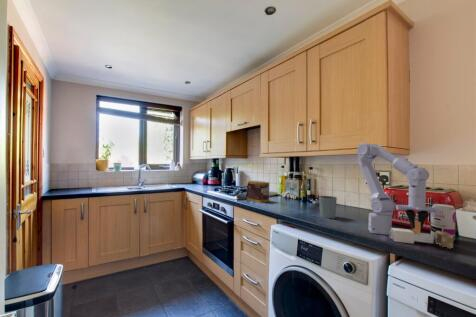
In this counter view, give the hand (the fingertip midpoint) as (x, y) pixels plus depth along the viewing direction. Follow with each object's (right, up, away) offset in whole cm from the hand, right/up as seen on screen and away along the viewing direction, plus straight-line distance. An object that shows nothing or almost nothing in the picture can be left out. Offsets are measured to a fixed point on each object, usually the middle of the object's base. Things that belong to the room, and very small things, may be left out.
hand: (416, 228), depth 100 cm
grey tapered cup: (-22, -6, +43) cm, 48 cm away
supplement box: (-59, -5, +94) cm, 111 cm away
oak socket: (+9, -6, -3) cm, 11 cm away
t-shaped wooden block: (-2, -6, +1) cm, 6 cm away
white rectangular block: (-5, -6, +2) cm, 8 cm away
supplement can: (+16, -7, +6) cm, 18 cm away
